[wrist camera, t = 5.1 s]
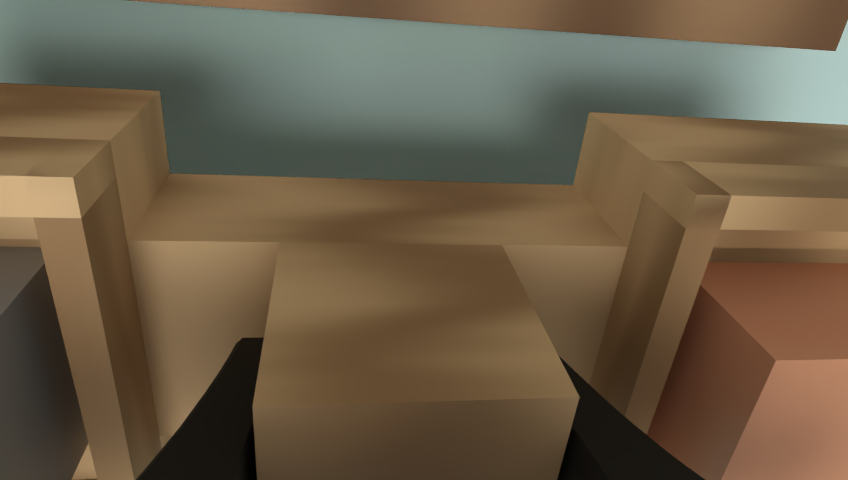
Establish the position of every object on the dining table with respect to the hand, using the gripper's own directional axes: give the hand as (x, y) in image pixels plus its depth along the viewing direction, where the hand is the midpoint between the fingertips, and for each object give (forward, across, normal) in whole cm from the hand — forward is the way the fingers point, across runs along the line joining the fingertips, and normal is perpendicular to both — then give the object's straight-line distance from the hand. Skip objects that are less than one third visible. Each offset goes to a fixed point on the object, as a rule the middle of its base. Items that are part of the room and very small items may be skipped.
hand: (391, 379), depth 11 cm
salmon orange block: (+1, -8, 0) cm, 8 cm away
